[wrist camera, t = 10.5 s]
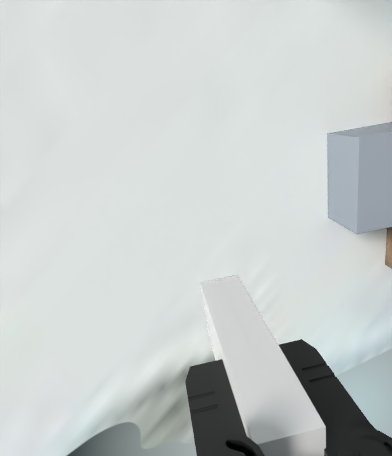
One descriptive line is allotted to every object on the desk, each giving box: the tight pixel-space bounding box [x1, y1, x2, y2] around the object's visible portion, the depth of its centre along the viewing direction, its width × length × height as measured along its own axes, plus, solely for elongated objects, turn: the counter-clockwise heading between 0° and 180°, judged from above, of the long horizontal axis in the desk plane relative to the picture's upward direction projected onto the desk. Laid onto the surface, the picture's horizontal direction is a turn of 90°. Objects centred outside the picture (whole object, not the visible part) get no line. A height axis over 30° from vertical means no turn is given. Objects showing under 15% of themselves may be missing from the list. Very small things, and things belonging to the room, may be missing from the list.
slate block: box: [327, 122, 392, 234], centre depth 36 cm, size 10×8×6 cm
